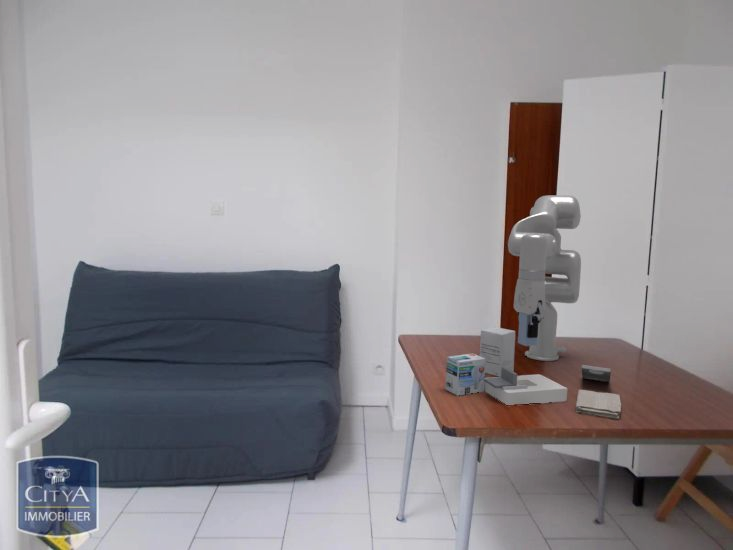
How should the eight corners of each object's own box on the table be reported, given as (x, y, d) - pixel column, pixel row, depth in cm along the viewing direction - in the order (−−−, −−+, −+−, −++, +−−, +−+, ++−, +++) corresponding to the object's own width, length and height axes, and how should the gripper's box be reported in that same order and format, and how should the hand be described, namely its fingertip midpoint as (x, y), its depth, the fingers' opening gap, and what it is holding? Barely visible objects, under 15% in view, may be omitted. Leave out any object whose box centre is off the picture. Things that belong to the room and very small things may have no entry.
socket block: (539, 386, 171) (540, 371, 170) (566, 401, 157) (567, 385, 157) (483, 390, 165) (484, 375, 165) (507, 406, 152) (508, 390, 151)
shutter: (504, 379, 163) (504, 367, 162) (516, 386, 156) (517, 373, 156) (483, 380, 161) (484, 368, 160) (495, 388, 154) (496, 375, 154)
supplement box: (491, 366, 192) (494, 326, 190) (514, 372, 185) (516, 330, 184) (477, 371, 185) (480, 329, 184) (500, 377, 179) (502, 334, 177)
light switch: (610, 376, 178) (611, 365, 165) (608, 393, 176) (609, 384, 164) (582, 372, 181) (582, 362, 169) (581, 389, 179) (580, 380, 167)
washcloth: (574, 415, 148) (575, 404, 148) (576, 395, 164) (577, 385, 164) (621, 422, 143) (622, 411, 143) (618, 401, 160) (619, 391, 159)
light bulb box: (457, 396, 159) (459, 361, 158) (444, 389, 165) (445, 356, 164) (485, 391, 164) (487, 358, 163) (471, 385, 170) (473, 352, 169)
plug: (529, 342, 162) (531, 305, 160) (536, 345, 158) (539, 307, 157) (517, 342, 161) (520, 305, 159) (525, 346, 157) (527, 308, 156)
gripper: (505, 272, 164) (502, 330, 166) (537, 279, 148) (532, 343, 150) (526, 272, 166) (523, 329, 168) (560, 279, 150) (555, 342, 152)
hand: (527, 335), depth 159 cm, fingers closed on plug, 4 cm apart
